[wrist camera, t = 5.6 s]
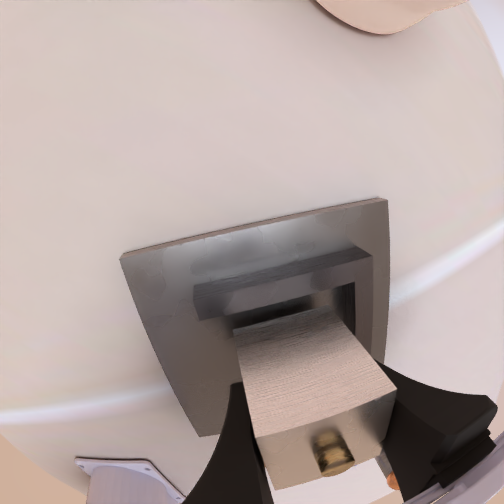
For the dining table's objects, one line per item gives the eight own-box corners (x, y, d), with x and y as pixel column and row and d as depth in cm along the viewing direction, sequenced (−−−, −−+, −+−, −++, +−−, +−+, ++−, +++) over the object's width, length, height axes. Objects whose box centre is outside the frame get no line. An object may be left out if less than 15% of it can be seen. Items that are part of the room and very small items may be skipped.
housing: (331, 372, 14) (387, 467, 8) (251, 395, 14) (279, 505, 8) (328, 304, 13) (409, 404, 6) (232, 329, 12) (260, 459, 6)
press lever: (386, 428, 19) (422, 483, 13) (349, 443, 19) (380, 505, 12) (392, 404, 18) (435, 464, 11) (351, 421, 18) (390, 490, 11)
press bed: (375, 379, 18) (390, 399, 16) (198, 428, 17) (200, 454, 15) (379, 197, 14) (405, 205, 12) (123, 253, 13) (109, 271, 10)
